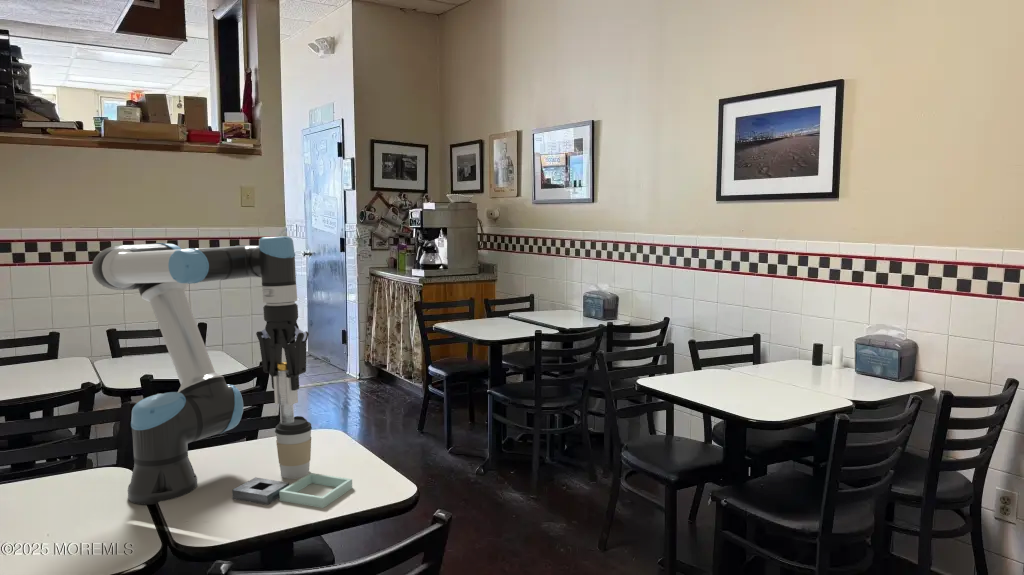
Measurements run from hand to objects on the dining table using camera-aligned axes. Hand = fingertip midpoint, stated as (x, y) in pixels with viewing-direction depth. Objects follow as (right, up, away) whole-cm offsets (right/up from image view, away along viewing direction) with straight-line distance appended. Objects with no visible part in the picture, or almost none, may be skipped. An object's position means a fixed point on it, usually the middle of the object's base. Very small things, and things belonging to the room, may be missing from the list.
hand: (286, 402), depth 160 cm
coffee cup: (-3, -22, +16) cm, 28 cm away
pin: (0, -5, 0) cm, 5 cm away
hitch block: (-7, -23, +3) cm, 24 cm away
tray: (+6, -23, +4) cm, 24 cm away
